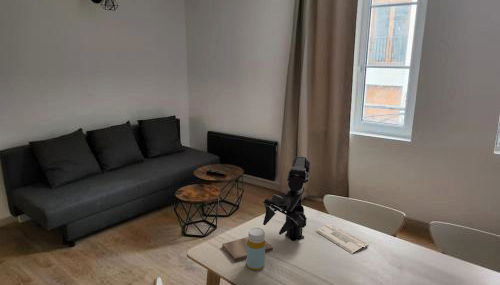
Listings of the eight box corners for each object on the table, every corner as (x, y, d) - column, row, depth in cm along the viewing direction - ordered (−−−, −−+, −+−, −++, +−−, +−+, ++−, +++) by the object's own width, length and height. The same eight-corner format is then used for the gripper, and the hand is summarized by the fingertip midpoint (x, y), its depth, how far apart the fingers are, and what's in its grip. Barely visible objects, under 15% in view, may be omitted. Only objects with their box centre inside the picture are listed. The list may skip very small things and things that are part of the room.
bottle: (262, 272, 132) (264, 237, 128) (244, 269, 133) (245, 235, 129) (265, 261, 138) (267, 228, 134) (248, 259, 139) (249, 226, 136)
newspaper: (370, 247, 152) (370, 242, 151) (351, 258, 146) (352, 253, 145) (332, 224, 170) (332, 220, 169) (314, 233, 164) (314, 229, 163)
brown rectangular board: (258, 237, 156) (258, 234, 156) (272, 250, 146) (272, 247, 146) (222, 246, 148) (222, 243, 147) (234, 261, 138) (234, 258, 137)
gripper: (267, 180, 143) (245, 211, 139) (300, 194, 129) (278, 230, 125) (280, 193, 150) (260, 223, 146) (313, 208, 136) (291, 242, 132)
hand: (271, 229), depth 137 cm, fingers open, 9 cm apart
